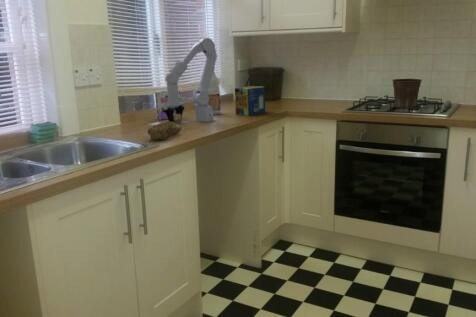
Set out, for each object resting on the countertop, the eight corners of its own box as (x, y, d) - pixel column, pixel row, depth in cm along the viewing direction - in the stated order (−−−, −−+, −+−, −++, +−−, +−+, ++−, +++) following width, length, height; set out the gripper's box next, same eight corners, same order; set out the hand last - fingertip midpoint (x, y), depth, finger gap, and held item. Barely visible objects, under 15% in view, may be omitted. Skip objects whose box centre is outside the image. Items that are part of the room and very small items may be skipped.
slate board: (191, 123, 241) (191, 121, 241) (168, 128, 226) (168, 127, 226) (168, 121, 250) (168, 120, 249) (145, 126, 235) (145, 125, 235)
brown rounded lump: (165, 135, 217) (136, 134, 200) (168, 119, 216) (139, 117, 199) (186, 142, 210) (157, 142, 193) (189, 126, 209) (161, 124, 192)
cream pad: (164, 123, 238) (164, 122, 238) (156, 125, 233) (156, 124, 233) (156, 122, 241) (156, 122, 241) (148, 124, 236) (148, 124, 236)
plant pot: (424, 108, 256) (426, 80, 252) (396, 109, 256) (397, 81, 252) (414, 105, 272) (415, 78, 268) (387, 106, 272) (388, 79, 268)
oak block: (181, 122, 240) (180, 113, 239) (175, 123, 236) (175, 115, 235) (174, 121, 242) (174, 113, 241) (169, 123, 239) (168, 114, 237)
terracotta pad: (174, 121, 244) (174, 120, 244) (167, 122, 240) (167, 122, 240) (166, 120, 248) (166, 120, 248) (158, 122, 243) (158, 121, 243)
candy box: (157, 121, 253) (155, 91, 249) (156, 119, 258) (154, 90, 254) (182, 119, 256) (180, 90, 252) (180, 117, 262) (178, 89, 258)
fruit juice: (202, 113, 273) (199, 67, 266) (215, 112, 278) (213, 66, 271) (210, 115, 265) (207, 67, 258) (223, 113, 270) (221, 66, 263)
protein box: (235, 114, 264) (234, 88, 261) (253, 111, 275) (252, 85, 271) (248, 116, 257) (247, 88, 254) (266, 112, 268) (265, 86, 264)
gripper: (176, 94, 244) (178, 118, 247) (158, 97, 232) (160, 123, 235) (186, 94, 240) (188, 119, 243) (168, 97, 228) (170, 123, 231)
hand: (175, 121), depth 239 cm, fingers open, 6 cm apart
